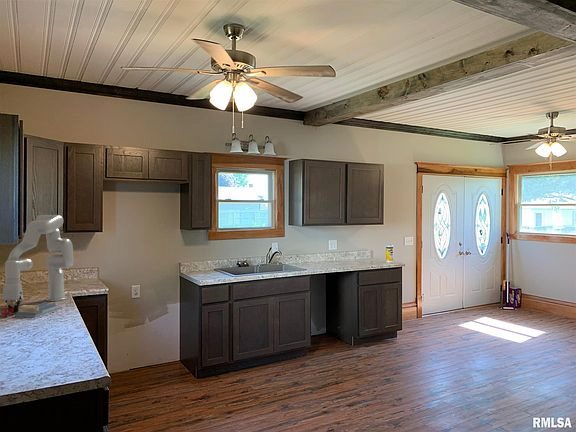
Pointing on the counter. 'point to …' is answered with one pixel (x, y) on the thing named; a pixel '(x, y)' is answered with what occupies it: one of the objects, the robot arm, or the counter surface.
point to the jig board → (42, 310)
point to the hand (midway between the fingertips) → (13, 311)
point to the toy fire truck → (8, 310)
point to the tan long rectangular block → (28, 308)
